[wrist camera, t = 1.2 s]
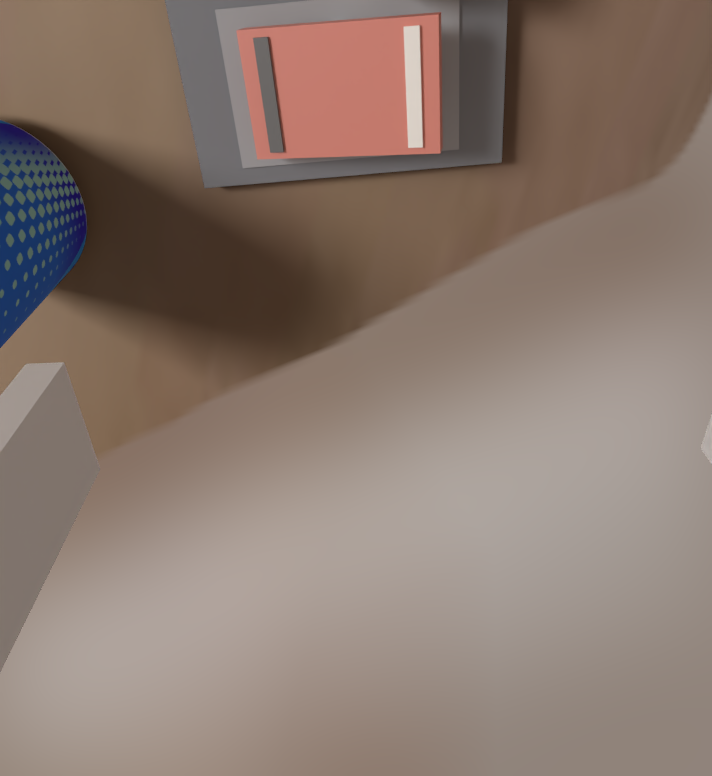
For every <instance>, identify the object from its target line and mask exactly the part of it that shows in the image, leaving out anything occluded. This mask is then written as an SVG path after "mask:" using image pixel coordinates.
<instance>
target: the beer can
mask: <svg viewBox="0 0 712 776" xmlns="http://www.w3.org/2000/svg"><path fill="white" fill-rule="evenodd" d="M86 235H87V218H86V211H85V206H84V203H83V200H82V196H81V194H80V192H79V189H78V187H77V185H76V183H75V181H74V179H73V178H72V176H71V174H70V173H69V171H68V170H67V169H66V167H65V166H64V164H63V163H62V162H61V161H60V160H59V158H58V157H57V156H56V155H55V154H54V153H53V152H52V151H51V150H50V149H49V148H48V147H47V146H45V145H44V144H43V143H42V142H41V141H39V140H38V139H37V138H35V137H34V136H32V135H31V134H29V133H28V132H26V131H24V130H23V129H21V128H19V127H17V126H15V125H13V124H10V123H8V122H5V121H3V120H0V348H1V347H2V346H3V344H4V343H5V342H6V341H7V340H8V339H9V338H10V337H11V336H12V334H13V333H14V332H15V331H16V330H17V329H18V328H19V327H20V326H21V324H22V323H23V322H24V321H25V320H26V319H27V318H28V317H29V316H30V314H31V313H32V312H33V311H34V310H35V309H36V308H37V307H38V306H39V305H40V303H41V302H42V301H43V300H44V299H45V298H46V297H47V296H48V295H49V293H50V292H51V291H52V290H53V289H54V288H55V287H56V286H57V285H58V283H59V282H60V281H61V280H62V279H63V278H64V277H65V276H66V275H67V273H68V272H69V271H70V270H71V269H72V268H73V267H74V265H75V264H76V263H77V261H78V259H79V258H80V255H81V253H82V251H83V248H84V245H85V241H86Z"/></svg>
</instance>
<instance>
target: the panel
mask: <svg viewBox="0 0 712 776" xmlns="http://www.w3.org/2000/svg"><path fill="white" fill-rule="evenodd" d="M165 3H166V8H167V13H168V17H169V22H170V27H171V32H172V36H173V41H174V46H175V50H176V55H177V60H178V65H179V69H180V74H181V79H182V83H183V88H184V93H185V98H186V102H187V107H188V112H189V117H190V121H191V126H192V131H193V135H194V140H195V145H196V150H197V154H198V159H199V164H200V168H201V173H202V178H203V183H204V187H205V188H213V187H224V186H236V185H248V184H259V183H271V182H282V181H294V180H306V179H317V178H329V177H340V176H352V175H363V174H375V173H387V172H398V171H410V170H421V169H433V168H445V167H456V166H468V165H479V164H491V163H502V143H503V116H504V90H505V63H506V36H507V10H508V0H165ZM435 12H441V37H442V128H443V148H442V150H441V153H439V154H409V155H378V156H348V157H318V158H287V159H257V154H256V148H255V142H254V136H253V130H252V124H251V118H250V112H249V106H248V99H247V93H246V87H245V81H244V75H243V69H242V63H241V57H240V51H239V44H238V38H237V32H236V30H239V29H242V28H247V27H260V26H272V25H285V24H297V23H310V22H322V21H335V20H347V19H360V18H373V17H385V16H398V15H410V14H423V13H435Z"/></svg>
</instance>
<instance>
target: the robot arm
mask: <svg viewBox="0 0 712 776" xmlns="http://www.w3.org/2000/svg"><path fill="white" fill-rule="evenodd" d="M701 449H702V451H703V452H704V454H705V455H706V456H707V458H708V459H709V461H710V462H711V464H712V414H711V417H710V421H709V424H708V427H707V430H706V433H705V436H704V439H703V443H702V446H701ZM99 471H100V467H99V464H98V461H97V458H96V455H95V452H94V449H93V446H92V443H91V440H90V437H89V434H88V431H87V428H86V425H85V422H84V420H83V417H82V414H81V411H80V408H79V405H78V402H77V399H76V396H75V393H74V390H73V387H72V384H71V381H70V378H69V375H68V372H67V369H66V366H65V363H64V362H63V363H37V364H25V366H24V367H23V368H22V369H21V371H20V372H19V373H18V374H17V376H16V377H15V378H14V379H13V381H12V382H11V383H10V384H9V386H8V387H7V388H6V389H5V391H4V392H3V393H2V394H1V396H0V672H1V669H2V667H3V665H4V663H5V661H6V659H7V657H8V655H9V653H10V651H11V649H12V647H13V645H14V643H15V641H16V639H17V637H18V635H19V633H20V631H21V629H22V627H23V625H24V623H25V621H26V619H27V617H28V615H29V613H30V611H31V609H32V607H33V604H34V602H35V600H36V598H37V596H38V594H39V592H40V590H41V588H42V586H43V584H44V582H45V580H46V578H47V576H48V574H49V572H50V570H51V568H52V566H53V564H54V562H55V560H56V558H57V556H58V554H59V552H60V550H61V548H62V546H63V543H64V542H65V539H66V538H67V536H68V533H69V531H70V529H71V527H72V525H73V523H74V521H75V519H76V517H77V515H78V513H79V511H80V509H81V507H82V505H83V503H84V501H85V499H86V497H87V495H88V493H89V491H90V489H91V486H92V485H93V483H94V481H95V479H96V477H97V475H98V473H99Z"/></svg>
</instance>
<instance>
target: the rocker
mask: <svg viewBox="0 0 712 776" xmlns="http://www.w3.org/2000/svg"><path fill="white" fill-rule="evenodd" d="M236 32H237V38H238V44H239V51H240V57H241V63H242V69H243V75H244V81H245V87H246V93H247V99H248V106H249V112H250V118H251V124H252V130H253V136H254V142H255V148H256V154H257V159H287V158H318V157H348V156H378V155H409V154H439V153H441V150H442V148H443V128H442V37H441V12H435V13H423V14H410V15H398V16H385V17H373V18H360V19H347V20H335V21H322V22H310V23H297V24H285V25H272V26H260V27H247V28H242V29H239V30H236Z"/></svg>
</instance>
